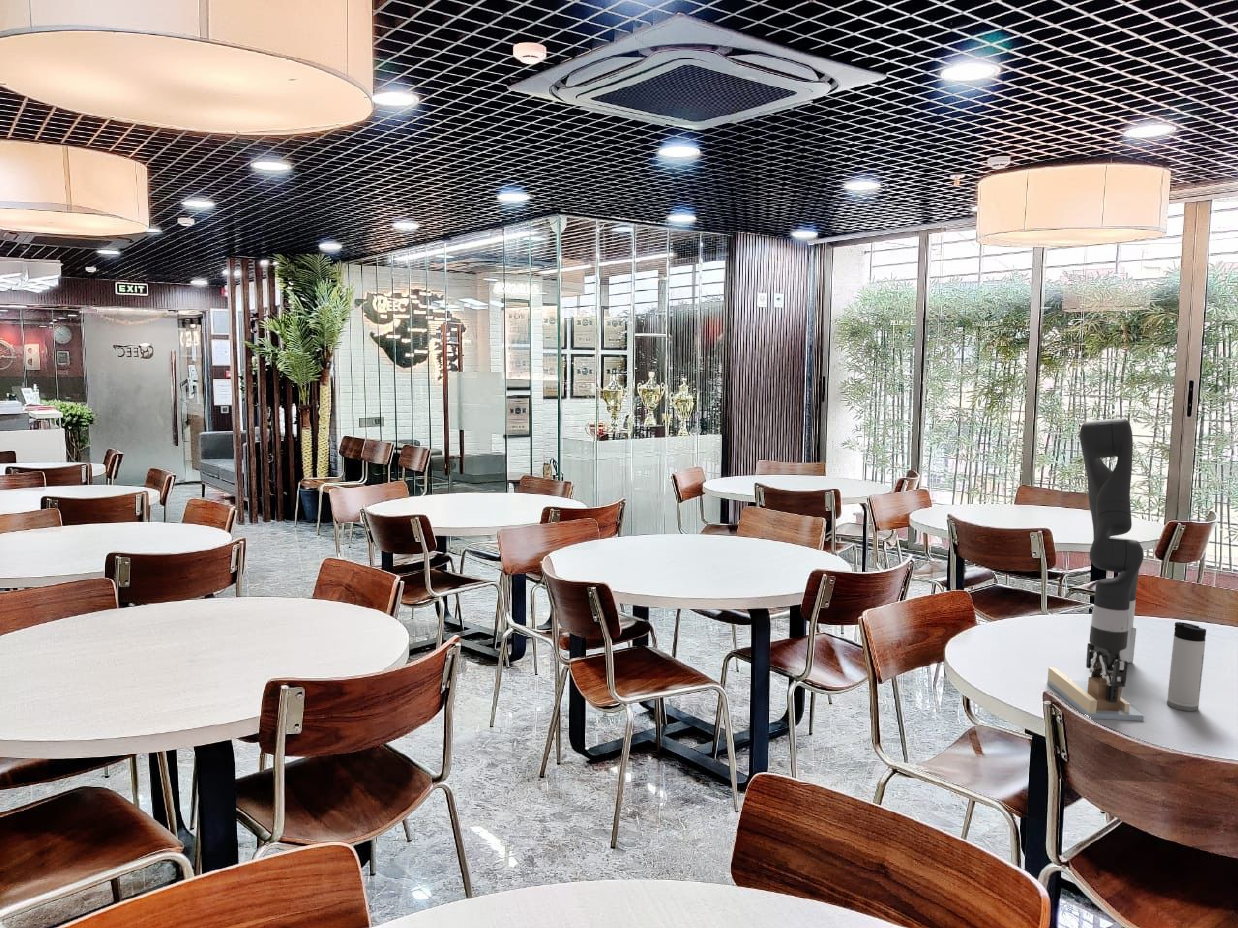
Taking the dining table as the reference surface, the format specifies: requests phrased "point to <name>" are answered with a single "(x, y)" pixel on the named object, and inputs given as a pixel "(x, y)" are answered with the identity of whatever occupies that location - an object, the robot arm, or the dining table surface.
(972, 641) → the dining table surface
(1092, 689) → the walnut box
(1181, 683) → the travel mug
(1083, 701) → the board
